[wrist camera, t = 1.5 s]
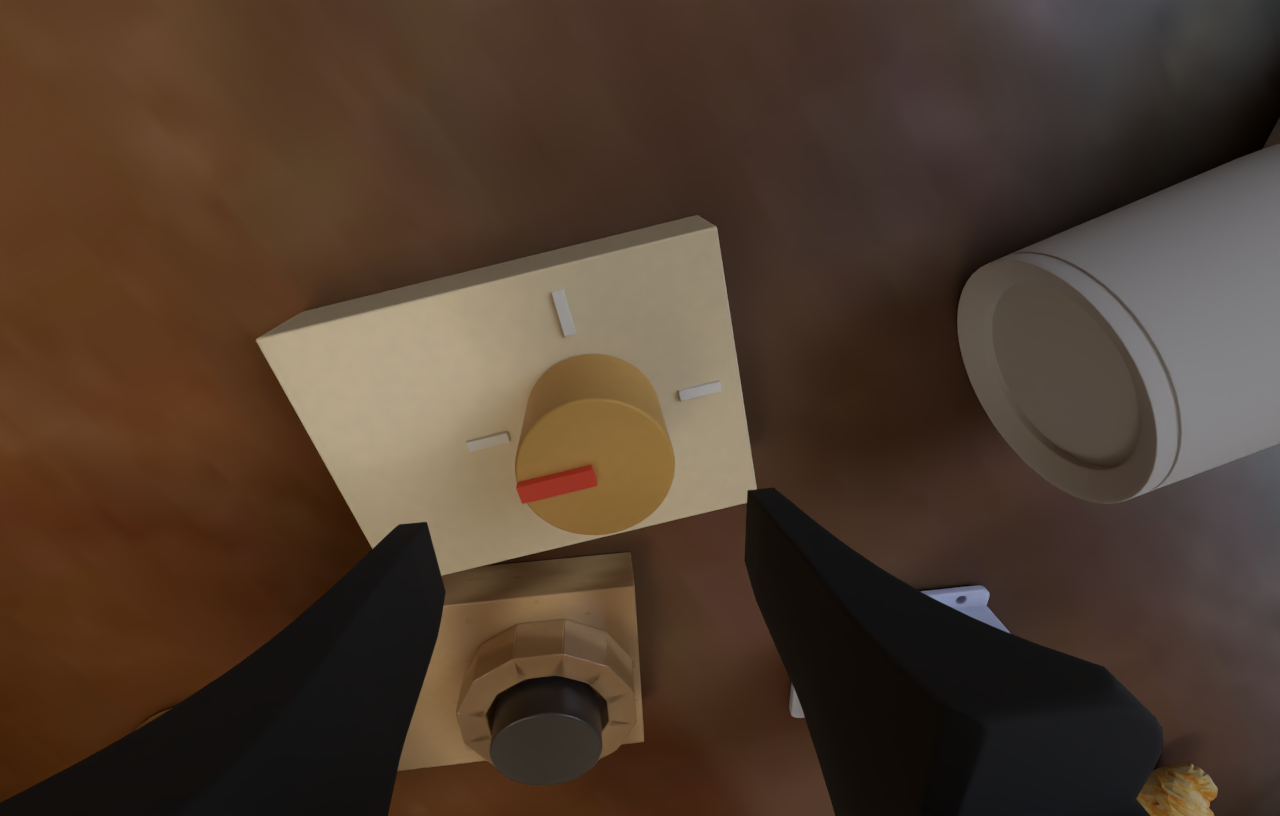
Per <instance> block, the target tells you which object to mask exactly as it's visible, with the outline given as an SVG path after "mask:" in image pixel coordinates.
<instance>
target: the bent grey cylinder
mask: <svg viewBox="0 0 1280 816" xmlns="http://www.w3.org/2000/svg"><path fill="white" fill-rule="evenodd" d="M957 328H958V338H959V345H960V350H961V354H962V358H963V362H964V365H965V368H966V371H967V374H968V376H969V379H970V382H971V384H972V386H973V389H974V391H975V393H976V395H977V397H978V399H979V401H980V403H981V405H982V407H983V408H984V410H985V412H986V413H987V415H988V417H989V418H990V420H991V421H992V423H993V424H994V426H995V427H996V429H997V430H998V432H999V433H1000V434H1001V435H1002V437H1003V438H1004V439H1005V441H1006V442H1007V443H1008V444H1009V445H1010V447H1011V448H1012V449H1013V450H1014V451H1015V452H1016V453H1017V455H1018V456H1019V457H1020V458H1021V459H1022V460H1023V461H1024V462H1025V463H1026V464H1027V465H1029V466H1030V467H1031V468H1032V469H1033V470H1034V471H1035V472H1037V473H1038V474H1039V475H1040V476H1042V477H1043V478H1044V479H1046V480H1047V481H1048V482H1050V483H1051V484H1053V485H1054V486H1056V487H1058V488H1059V489H1061V490H1063V491H1065V492H1067V493H1069V494H1071V495H1073V496H1075V497H1078V498H1081V499H1083V500H1086V501H1091V502H1095V503H1106V504H1112V503H1118V502H1123V501H1126V500H1129V499H1131V498H1134V497H1137V496H1139V495H1142V494H1145V493H1147V492H1150V491H1153V490H1155V489H1158V488H1161V487H1164V486H1166V485H1169V484H1172V483H1174V482H1177V481H1180V480H1182V479H1185V478H1188V477H1190V476H1193V475H1196V474H1198V473H1201V472H1204V471H1206V470H1209V469H1212V468H1215V467H1217V466H1220V465H1223V464H1225V463H1228V462H1231V461H1233V460H1236V459H1239V458H1241V457H1244V456H1247V455H1249V454H1252V453H1255V452H1257V451H1260V450H1263V449H1265V448H1268V447H1271V446H1274V445H1276V444H1279V443H1280V117H1279V119H1278V121H1277V123H1276V125H1275V127H1274V128H1273V130H1272V132H1271V134H1270V136H1269V138H1268V140H1267V141H1266V143H1265V145H1264V147H1263V149H1262V150H1259V151H1256V152H1253V153H1251V154H1248V155H1245V156H1242V157H1240V158H1237V159H1235V160H1233V161H1230V162H1228V163H1225V164H1223V165H1221V166H1218V167H1216V168H1214V169H1211V170H1209V171H1206V172H1204V173H1202V174H1199V175H1197V176H1194V177H1192V178H1190V179H1187V180H1185V181H1183V182H1180V183H1178V184H1175V185H1173V186H1171V187H1168V188H1166V189H1164V190H1161V191H1159V192H1156V193H1154V194H1152V195H1149V196H1147V197H1145V198H1142V199H1140V200H1137V201H1135V202H1133V203H1130V204H1128V205H1125V206H1123V207H1121V208H1118V209H1116V210H1114V211H1111V212H1109V213H1106V214H1104V215H1102V216H1099V217H1097V218H1095V219H1092V220H1090V221H1087V222H1085V223H1083V224H1080V225H1078V226H1076V227H1073V228H1071V229H1068V230H1066V231H1064V232H1061V233H1059V234H1056V235H1054V236H1052V237H1049V238H1047V239H1045V240H1042V241H1040V242H1037V243H1035V244H1033V245H1030V246H1028V247H1026V248H1023V249H1021V250H1018V251H1016V252H1014V253H1011V254H1009V255H1007V256H1004V257H1002V258H999V259H997V260H995V261H992V262H990V263H988V264H986V265H984V266H982V267H980V268H979V269H978V270H977V271H976V272H974V273H973V274H972V275H971V277H970V278H969V279H968V281H967V282H966V284H965V286H964V288H963V290H962V293H961V296H960V300H959V305H958V314H957Z"/></svg>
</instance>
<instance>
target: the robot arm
mask: <svg viewBox="0 0 1280 816" xmlns="http://www.w3.org/2000/svg"><path fill="white" fill-rule="evenodd" d="M745 563H746V567H747V571H748V574H749V578H750V581H751V585H752V588H753V591H754V595H755V598H756V601H757V603H758V606H759V608H760V611H761V613H762V615H763V618H764V620H765V622H766V625H767V627H768V629H769V632H770V634H771V636H772V639H773V641H774V643H775V645H776V648H777V650H778V652H779V655H780V657H781V659H782V661H783V664H784V666H785V668H786V671H787V673H788V675H789V678H790V680H791V682H792V683H791V692H790V702H789V710H790V713H791V715H792V716H793V717H795V718H803V717H805V719H806V722H807V725H808V728H809V731H810V735H811V738H812V741H813V744H814V747H815V750H816V753H817V756H818V759H819V763H820V766H821V769H822V773H823V776H824V779H825V782H826V786H827V789H828V792H829V795H830V799H831V802H832V805H833V809H834V812H835V816H1150V814H1149V813H1148V812H1147V811H1146V810H1145V809H1144V807H1143V806H1142V805H1141V804H1140V803H1139V802H1138V800H1137V799H1136V798H1137V797H1138V795H1139V793H1140V791H1141V790H1142V788H1143V786H1144V784H1145V783H1146V781H1147V779H1148V777H1149V776H1150V774H1151V772H1152V770H1153V769H1154V767H1155V765H1156V763H1157V762H1158V759H1159V756H1160V754H1161V751H1162V749H1163V731H1162V727H1161V726H1160V724H1159V723H1158V721H1157V719H1156V718H1155V717H1154V716H1153V715H1152V714H1151V713H1150V712H1149V711H1148V710H1147V709H1146V708H1145V707H1144V706H1143V705H1142V704H1141V703H1140V702H1139V701H1138V700H1137V699H1136V698H1135V697H1134V696H1133V695H1132V694H1131V693H1130V692H1129V691H1128V690H1127V689H1126V688H1125V687H1124V686H1123V685H1122V684H1121V683H1120V682H1119V681H1118V680H1117V679H1116V678H1115V677H1114V676H1113V675H1112V674H1111V673H1110V672H1109V671H1108V670H1107V669H1106V668H1105V667H1103V666H1100V665H1097V664H1094V663H1091V662H1088V661H1085V660H1082V659H1079V658H1076V657H1073V656H1070V655H1068V654H1065V653H1062V652H1059V651H1056V650H1053V649H1050V648H1047V647H1044V646H1041V645H1038V644H1036V643H1033V642H1030V641H1028V640H1025V639H1023V638H1020V637H1018V636H1015V635H1013V634H1011V633H1010V632H1009V631H1008V630H1007V629H1006V627H1005V626H1004V625H1003V624H1002V623H1001V622H1000V621H999V619H998V618H997V617H996V616H995V615H994V614H993V613H992V611H991V610H990V609H989V608H988V607H987V606H986V605H987V602H988V599H989V592H988V591H987V589H986V588H985V587H983V586H981V585H975V586H966V587H956V588H947V589H937V590H928V591H918V590H917V589H915V588H913V587H911V586H910V585H908V584H906V583H905V582H903V581H901V580H899V579H898V578H896V577H894V576H892V575H891V574H889V573H887V572H886V571H884V570H883V569H881V568H879V567H878V566H876V565H875V564H873V563H872V562H870V561H869V560H867V559H866V558H864V557H863V556H861V555H860V554H858V553H857V552H856V551H854V550H853V549H851V548H850V547H848V546H847V545H846V544H844V543H843V542H841V541H840V540H839V539H837V538H836V537H835V536H833V535H832V534H831V533H829V532H828V531H827V530H826V529H824V528H823V527H822V526H820V525H819V524H818V523H817V522H815V521H814V520H813V519H812V518H810V517H809V516H808V515H807V514H805V513H804V512H803V511H802V510H800V509H799V508H798V507H797V506H796V505H794V504H793V503H792V502H791V501H790V500H788V499H787V498H786V497H785V496H783V495H782V494H781V493H780V492H778V491H777V490H776V489H775V488H766V489H756V490H748V491H747V515H746V539H745ZM445 594H446V591H445V587H444V584H443V580H442V576H441V572H440V569H439V565H438V561H437V558H436V554H435V550H434V546H433V543H432V539H431V535H430V531H429V528H428V524H427V522H419V523H409V524H399V525H398V526H396V527H395V528H394V529H393V530H392V531H391V532H390V533H389V534H388V535H387V536H386V537H384V538H383V539H382V540H381V541H380V542H379V543H378V544H377V545H376V546H375V547H374V548H373V549H372V550H371V551H370V552H369V553H368V554H367V555H366V556H365V557H364V558H363V559H362V560H361V561H360V562H359V563H358V564H356V565H355V566H354V567H353V568H352V569H351V570H350V571H349V572H348V573H347V574H346V575H345V576H344V577H343V578H342V579H341V580H340V581H339V582H337V583H336V584H335V585H334V586H333V587H332V588H331V589H330V590H329V591H328V592H326V593H325V594H324V595H323V596H322V597H321V598H320V599H318V600H317V601H316V602H315V603H314V604H313V605H312V606H310V607H309V608H308V609H307V610H306V611H305V612H304V613H302V614H301V615H300V616H299V617H298V618H297V619H296V620H294V621H293V622H292V623H291V624H290V625H288V626H287V627H286V628H285V629H284V630H282V631H281V632H280V633H279V634H277V635H276V636H275V637H273V638H272V639H271V640H270V641H268V642H267V643H266V644H264V645H263V646H262V647H260V648H259V649H258V650H256V651H255V652H254V653H252V654H251V655H250V656H248V657H247V658H246V659H244V660H243V661H242V662H240V663H239V664H238V665H236V666H235V667H233V668H232V669H231V670H229V671H228V672H226V673H225V674H223V675H222V676H220V677H219V678H217V679H216V680H214V681H213V682H211V683H210V684H208V685H207V686H205V687H204V688H202V689H201V690H199V691H198V692H196V693H195V694H193V695H192V696H190V697H189V698H187V699H186V700H184V701H183V702H181V703H180V704H178V705H177V706H175V707H173V708H172V709H170V710H169V711H167V712H165V713H164V714H162V715H160V716H159V717H157V718H155V719H154V720H152V721H150V722H149V723H147V724H146V725H144V726H142V727H141V728H139V729H137V730H135V731H134V732H132V733H130V734H128V735H127V736H125V737H123V738H122V739H120V740H118V741H116V742H115V743H113V744H111V745H109V746H108V747H106V748H104V749H102V750H101V751H99V752H97V753H95V754H93V755H91V756H90V757H88V758H86V759H84V760H82V761H80V762H78V763H77V764H75V765H73V766H71V767H69V768H67V769H65V770H63V771H61V772H59V773H57V774H55V775H54V776H52V777H50V778H48V779H46V780H44V781H42V782H40V783H38V784H36V785H34V786H32V787H31V788H29V789H27V790H25V791H23V792H21V793H19V794H17V795H15V796H13V797H11V798H9V799H7V800H5V801H3V802H1V803H0V816H388V812H389V807H390V803H391V798H392V793H393V789H394V784H395V779H396V775H397V770H398V766H399V761H400V757H401V753H402V750H403V746H404V743H405V739H406V735H407V732H408V729H409V726H410V723H411V720H412V717H413V714H414V711H415V707H416V704H417V701H418V698H419V695H420V692H421V689H422V686H423V682H424V679H425V676H426V673H427V670H428V667H429V664H430V660H431V657H432V654H433V651H434V648H435V644H436V641H437V638H438V634H439V628H440V623H441V618H442V612H443V606H444V600H445Z"/></svg>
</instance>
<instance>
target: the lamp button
mask: <svg viewBox="0 0 1280 816" xmlns="http://www.w3.org/2000/svg"><path fill="white" fill-rule="evenodd" d="M601 752H602V718H601V704H600V701H599V699H598V697H597V695H596V694H595V692H594V691H593V690H592V689H591V688H589V687H588V686H587V685H585V684H584V683H582V682H580V681H576V680H573V679H569V678H565V677H562V676H549V677H540V678H531V679H527V680H525V681H522V682H520V683H518V684H516V685H514V686H513V687H511V688H510V689H509V690H507V691H506V692H505V693H504V694H503V696H502V697H501V699H500V700H499V702H498V704H497V706H496V710H495V717H494V723H493V730H492V736H491V743H490V757H491V760H492V763H493V764H494V766H495V767H496V769H497V770H498V771H499V772H501V773H502V774H503V775H505V776H506V777H508V778H510V779H512V780H514V781H517V782H520V783H524V784H530V785H555V784H560V783H564V782H568V781H571V780H573V779H576V778H578V777H580V776H582V775H583V774H585V773H586V772H588V771H589V770H590V769H591V768H592V767H593V766H594V765H595V764H596V763H597V761H598V759H599V757H600V755H601Z"/></svg>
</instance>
